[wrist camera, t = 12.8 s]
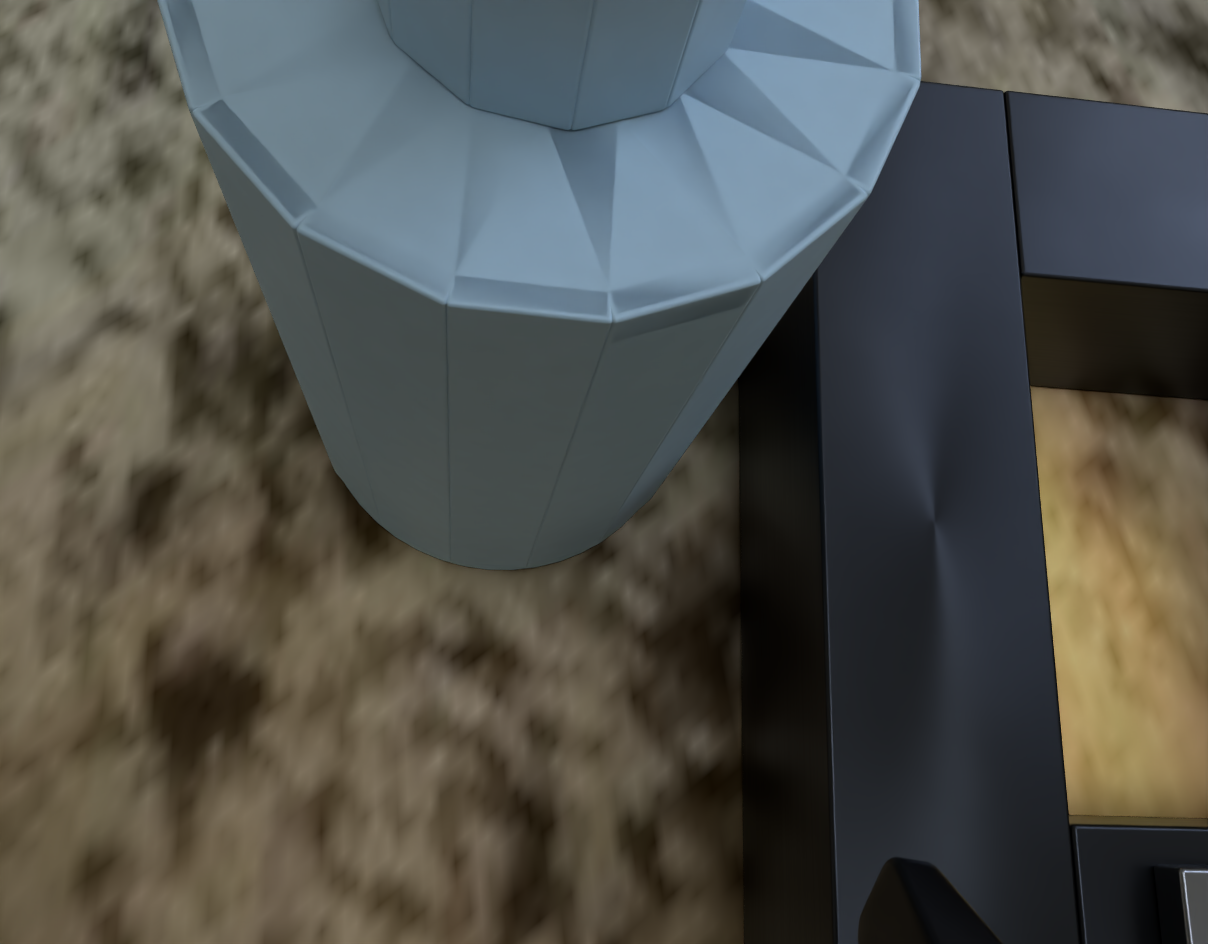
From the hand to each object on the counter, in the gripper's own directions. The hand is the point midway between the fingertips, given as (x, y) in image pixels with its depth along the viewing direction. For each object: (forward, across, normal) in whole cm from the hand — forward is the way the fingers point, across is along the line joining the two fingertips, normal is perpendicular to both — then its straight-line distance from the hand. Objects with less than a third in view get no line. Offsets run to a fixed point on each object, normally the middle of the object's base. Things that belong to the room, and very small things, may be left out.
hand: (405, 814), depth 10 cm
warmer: (+10, -12, +2) cm, 16 cm away
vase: (+11, 0, +1) cm, 11 cm away
